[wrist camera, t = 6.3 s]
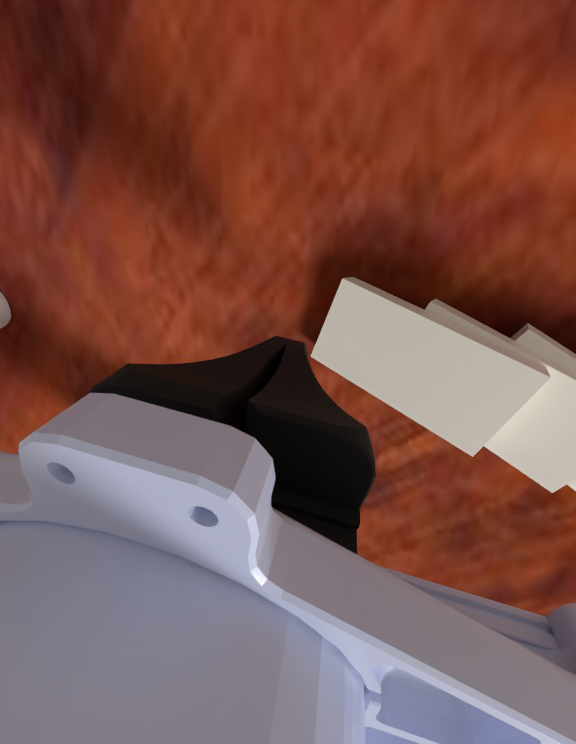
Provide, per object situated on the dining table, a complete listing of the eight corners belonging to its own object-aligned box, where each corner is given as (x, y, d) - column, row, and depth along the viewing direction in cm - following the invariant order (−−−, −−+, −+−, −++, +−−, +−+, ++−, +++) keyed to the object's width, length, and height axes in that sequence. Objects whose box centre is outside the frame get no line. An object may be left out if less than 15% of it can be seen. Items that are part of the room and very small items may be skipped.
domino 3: (452, 394, 17) (624, 529, 14) (528, 329, 14) (766, 485, 11) (456, 384, 18) (615, 507, 15) (527, 322, 15) (741, 462, 12)
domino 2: (379, 374, 17) (552, 493, 14) (430, 301, 15) (660, 426, 11) (387, 367, 19) (548, 474, 15) (435, 298, 16) (644, 410, 12)
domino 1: (310, 356, 18) (472, 456, 14) (342, 278, 15) (551, 377, 12) (322, 350, 19) (473, 441, 15) (353, 276, 16) (545, 366, 13)
